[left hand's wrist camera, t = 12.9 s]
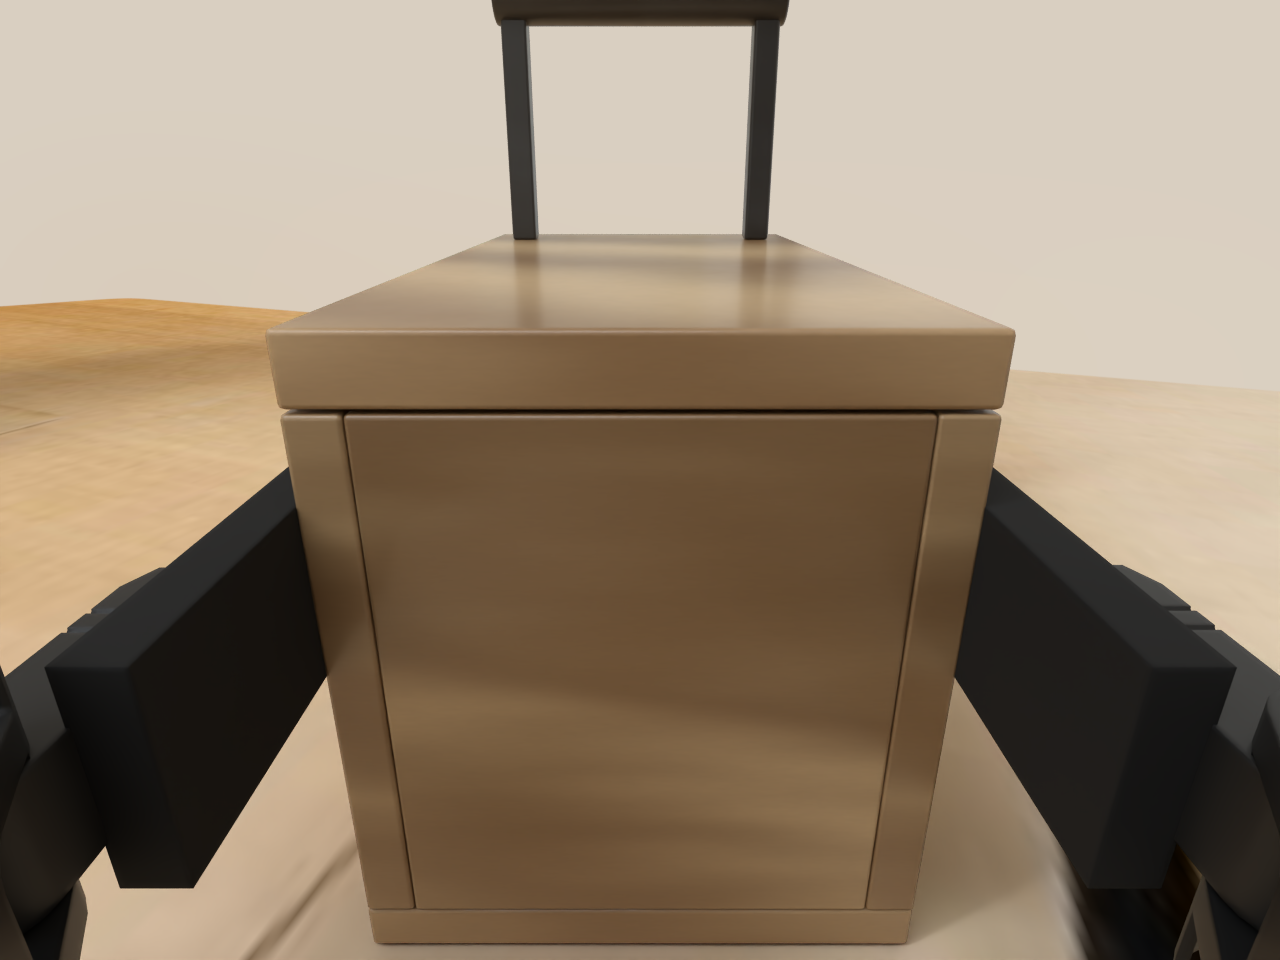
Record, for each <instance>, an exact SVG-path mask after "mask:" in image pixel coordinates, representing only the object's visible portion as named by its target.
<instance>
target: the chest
mask: <svg viewBox="0 0 1280 960" xmlns="http://www.w3.org/2000/svg"><path fill="white" fill-rule="evenodd" d="M1000 424H1001V416H1000V415H999V414H998V413H996V412H994V411H993V410H797V409H291V410H289V411H287V412H286V413H284V414H283V415H282V416H281V426H282V431H283V437H284V442H285V448H286V454H287V459H288V465H289V470H290V476H291V481H292V487H293V492H294V498H295V503H296V509H297V514H298V520H299V526H300V531H301V537H302V542H303V548H304V553H305V559H306V564H307V570H308V575H309V581H310V586H311V592H312V598H313V603H314V609H315V614H316V620H317V625H318V631H319V636H320V642H321V647H322V653H323V658H324V664H325V670H326V675H327V681H328V686H329V692H330V697H331V703H332V708H333V714H334V719H335V725H336V730H337V736H338V742H339V747H340V753H341V758H342V764H343V769H344V775H345V780H346V786H347V791H348V797H349V802H350V808H351V814H352V819H353V825H354V830H355V836H356V841H357V847H358V852H359V858H360V863H361V869H362V874H363V880H364V886H365V891H366V897H367V902H368V907H369V908H370V909H369V915H370V920H371V926H372V931H373V937H374V941H375V942H376V943H905V942H906V941H907V935H908V930H909V924H910V919H911V913H912V910H911V909H912V908H913V904H914V898H915V893H916V887H917V882H918V876H919V871H920V865H921V860H922V854H923V849H924V843H925V838H926V832H927V826H928V821H929V815H930V810H931V804H932V799H933V793H934V788H935V782H936V777H937V771H938V766H939V760H940V755H941V749H942V744H943V738H944V733H945V727H946V722H947V716H948V711H949V705H950V700H951V694H952V689H953V683H954V678H955V671H956V666H957V660H958V655H959V649H960V644H961V638H962V633H963V627H964V621H965V616H966V610H967V605H968V599H969V594H970V588H971V583H972V577H973V572H974V566H975V561H976V555H977V550H978V544H979V539H980V533H981V528H982V522H983V517H984V511H985V507H986V502H987V496H988V490H989V485H990V479H991V474H992V468H993V463H994V457H995V452H996V446H997V441H998V435H999V430H1000Z"/></svg>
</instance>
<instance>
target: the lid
mask: <svg viewBox="0 0 1280 960" xmlns="http://www.w3.org/2000/svg"><path fill="white" fill-rule="evenodd" d="M492 7H493V12H494V17H495V20H496V23H497V25H499V26H501V34H502V52H503V69H504V86H505V104H506V121H507V138H508V155H509V172H510V189H511V206H512V224H513V234H505V235H502V236H500V237H497V238H495V239H492V240H490V241H487V242H485V243H482V244H480V245H477V246H475V247H472V248H470V249H467V250H465V251H462V252H460V253H457V254H455V255H452V256H450V257H447V258H445V259H442V260H440V261H437V262H435V263H432V264H430V265H427V266H425V267H422V268H420V269H417V270H415V271H412V272H410V273H407V274H405V275H402V276H400V277H397V278H395V279H392V280H390V281H387V282H385V283H382V284H380V285H377V286H375V287H372V288H370V289H367V290H365V291H362V292H360V293H357V294H355V295H352V296H350V297H347V298H345V299H342V300H340V301H337V302H335V303H332V304H330V305H327V306H325V307H322V308H320V309H317V310H315V311H312V312H310V313H307V314H305V315H302V316H300V317H297V318H295V319H292V320H290V321H287V322H285V323H282V324H280V325H277V326H275V327H272V328H270V329H268V330H267V331H266V341H267V347H268V352H269V358H270V364H271V369H272V375H273V380H274V386H275V391H276V397H277V402H278V405H279V407H280V408H283V409H797V410H995V409H999V408H1001V407H1002V406H1003V403H1004V398H1005V392H1006V387H1007V381H1008V376H1009V370H1010V364H1011V359H1012V353H1013V348H1014V342H1015V337H1016V335H1015V331H1014V330H1013V329H1011V328H1009V327H1006V326H1004V325H1001V324H999V323H996V322H994V321H991V320H989V319H986V318H984V317H981V316H979V315H976V314H974V313H971V312H969V311H966V310H964V309H961V308H959V307H956V306H954V305H951V304H949V303H946V302H944V301H941V300H939V299H936V298H934V297H931V296H929V295H926V294H924V293H921V292H919V291H916V290H914V289H911V288H909V287H906V286H904V285H901V284H899V283H896V282H894V281H891V280H889V279H886V278H884V277H881V276H879V275H876V274H874V273H871V272H869V271H866V270H864V269H861V268H859V267H856V266H854V265H851V264H849V263H846V262H844V261H841V260H839V259H836V258H834V257H831V256H829V255H826V254H824V253H821V252H819V251H816V250H814V249H811V248H809V247H806V246H804V245H801V244H799V243H796V242H794V241H791V240H789V239H786V238H784V237H781V236H779V235H776V234H768V219H769V203H770V185H771V169H772V151H773V135H774V117H775V100H776V83H777V66H778V49H779V32H780V26H782V25H783V24H784V22H785V20H786V17H787V12H788V7H789V0H492ZM529 26H752V39H751V60H750V81H749V102H748V124H747V145H746V166H745V188H744V209H743V230H742V234H539V232H538V211H537V190H536V168H535V146H534V126H533V104H532V82H531V60H530V39H529Z"/></svg>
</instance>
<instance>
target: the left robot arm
mask: <svg viewBox="0 0 1280 960" xmlns="http://www.w3.org/2000/svg"><path fill="white" fill-rule="evenodd" d="M1190 608H1191V606H1190V605H1188V604H1187V603H1186V602H1184V601H1183V600H1182V599H1181V598H1179V597H1178V596H1177V595H1175V594H1174V593H1173V592H1172V591H1170V590H1169V589H1168V588H1166V587H1165V586H1164V585H1163V584H1161V583H1159V582H1157V581H1155V580H1152V579H1150V578H1148V577H1146V576H1144V575H1142V574H1140V573H1138V572H1136V571H1134V570H1132V569H1129V568H1127V567H1125V566H1123V565H1112V564H1110V563H1109V562H1108V561H1107V560H1106V559H1104V558H1103V557H1102V556H1101V555H1099V554H1098V553H1097V552H1096V551H1095V550H1093V549H1092V548H1091V547H1090V546H1088V545H1087V544H1086V543H1085V542H1084V541H1082V540H1081V539H1080V538H1079V537H1077V536H1076V535H1075V534H1074V533H1073V532H1071V531H1070V530H1069V529H1068V528H1066V527H1065V526H1064V525H1063V524H1062V523H1060V522H1059V521H1058V520H1057V519H1056V518H1054V517H1053V516H1052V515H1051V514H1049V513H1048V512H1047V511H1046V510H1045V509H1043V508H1042V507H1041V506H1040V505H1038V504H1037V503H1036V502H1035V501H1034V500H1032V499H1031V498H1030V497H1029V496H1027V495H1026V494H1025V493H1024V492H1023V491H1021V490H1020V489H1019V488H1018V487H1016V486H1015V485H1014V484H1013V483H1012V482H1010V481H1009V480H1008V479H1007V478H1005V477H1004V476H1003V475H1002V474H1001V473H999V472H998V471H997V470H996V469H995V468H992V474H991V479H990V485H989V490H988V496H987V502H986V507H985V511H984V517H983V522H982V528H981V533H980V539H979V544H978V550H977V555H976V561H975V566H974V572H973V577H972V583H971V588H970V594H969V599H968V605H967V610H966V616H965V621H964V627H963V633H962V638H961V644H960V649H959V655H958V660H957V666H956V671H955V678H956V680H957V681H958V683H959V685H960V686H961V688H962V689H963V691H964V693H965V694H966V696H967V697H968V699H969V701H970V702H971V704H972V705H973V707H974V709H975V710H976V712H977V713H978V715H979V716H980V718H981V720H982V721H983V723H984V724H985V726H986V728H987V729H988V731H989V732H990V734H991V736H992V737H993V739H994V740H995V742H996V743H997V745H998V747H999V748H1000V750H1001V751H1002V753H1003V755H1004V756H1005V758H1006V759H1007V761H1008V763H1009V764H1010V766H1011V767H1012V769H1013V770H1014V772H1015V774H1016V775H1017V777H1018V778H1019V780H1020V782H1021V783H1022V785H1023V786H1024V788H1025V790H1026V791H1027V793H1028V794H1029V796H1030V797H1031V799H1032V801H1033V802H1034V804H1035V805H1036V807H1037V809H1038V810H1039V812H1040V813H1041V815H1042V817H1043V818H1044V820H1045V821H1046V823H1047V825H1048V826H1049V828H1050V829H1051V831H1052V832H1053V834H1054V836H1055V837H1056V839H1057V840H1058V842H1059V844H1060V845H1061V847H1062V848H1063V850H1064V852H1065V853H1066V855H1067V856H1068V858H1069V859H1070V861H1071V863H1072V864H1073V866H1074V867H1075V869H1076V871H1077V872H1078V874H1079V875H1080V877H1081V879H1082V880H1083V882H1084V883H1085V885H1086V886H1087V888H1113V889H1161V887H1162V884H1163V881H1164V878H1165V876H1166V873H1167V870H1168V867H1169V864H1170V861H1171V858H1172V855H1173V852H1174V849H1175V846H1176V844H1178V845H1179V846H1180V848H1181V849H1182V850H1183V851H1184V853H1185V854H1186V855H1187V856H1188V857H1189V859H1190V860H1191V861H1192V862H1193V864H1194V865H1195V866H1196V867H1197V869H1198V870H1199V871H1200V872H1201V874H1202V878H1201V881H1200V883H1199V886H1198V889H1197V891H1196V894H1195V897H1194V900H1193V902H1192V905H1191V908H1190V910H1189V913H1188V916H1187V919H1186V921H1185V924H1184V927H1183V929H1182V932H1181V935H1180V938H1179V940H1178V943H1177V946H1176V948H1175V954H1174V960H1190V958H1191V956H1192V953H1193V952H1195V951H1197V950H1199V952H1200V958H1201V960H1280V675H1278V674H1277V673H1276V672H1274V671H1273V670H1272V669H1271V668H1269V667H1268V666H1267V665H1265V664H1264V663H1263V662H1262V661H1260V660H1259V659H1258V658H1256V657H1255V656H1254V655H1253V654H1251V653H1250V652H1249V651H1247V650H1246V649H1245V648H1244V647H1242V646H1241V645H1240V644H1238V643H1237V642H1236V641H1235V640H1233V639H1232V638H1231V637H1229V636H1228V635H1227V634H1226V633H1224V632H1223V631H1222V630H1215V625H1214V624H1213V623H1211V622H1210V621H1209V620H1208V619H1206V618H1205V617H1204V616H1202V615H1201V614H1200V613H1199V612H1197V611H1191V609H1190ZM91 610H92V612H91V614H85V615H83V616H82V617H81V618H80V619H78V620H77V621H76V622H74V623H73V624H72V625H71V626H69V627H68V628H67V629H68V631H67V633H60V634H59V635H58V636H57V637H55V638H54V639H53V640H51V641H50V642H49V643H48V644H46V645H45V646H44V647H43V648H41V649H40V650H39V651H37V652H36V653H35V654H34V655H32V656H31V657H30V658H29V659H27V660H26V661H25V662H23V663H22V664H21V665H20V666H18V667H17V668H16V669H15V670H13V671H12V672H11V673H9V674H8V675H7V676H6V677H4V674H3V672H2V669H1V666H0V960H80V955H81V949H82V943H83V937H84V932H85V926H86V920H87V914H88V912H87V905H86V897H85V894H84V891H83V889H82V886H81V883H80V881H79V878H80V877H81V876H82V874H83V873H84V872H85V871H86V869H87V868H88V867H89V866H90V864H91V863H92V862H93V861H94V859H95V858H96V857H97V856H98V854H99V853H100V852H101V851H102V849H103V848H104V847H105V846H106V849H107V852H108V855H109V858H110V860H111V863H112V866H113V869H114V872H115V875H116V878H117V881H118V884H119V887H120V888H194V886H195V885H196V883H197V882H198V880H199V878H200V877H201V875H202V874H203V872H204V871H205V869H206V867H207V866H208V864H209V863H210V861H211V859H212V858H213V856H214V855H215V853H216V851H217V850H218V848H219V847H220V845H221V843H222V842H223V840H224V839H225V837H226V836H227V834H228V832H229V831H230V829H231V828H232V826H233V824H234V823H235V821H236V820H237V818H238V816H239V815H240V813H241V812H242V810H243V809H244V807H245V805H246V804H247V802H248V801H249V799H250V797H251V796H252V794H253V793H254V791H255V789H256V788H257V786H258V785H259V783H260V781H261V780H262V778H263V777H264V775H265V774H266V772H267V770H268V769H269V767H270V766H271V764H272V762H273V761H274V759H275V758H276V756H277V754H278V753H279V751H280V750H281V748H282V747H283V745H284V743H285V742H286V740H287V739H288V737H289V735H290V734H291V732H292V731H293V729H294V727H295V726H296V724H297V723H298V721H299V719H300V718H301V716H302V715H303V713H304V712H305V710H306V708H307V707H308V705H309V704H310V702H311V700H312V699H313V697H314V696H315V694H316V692H317V691H318V689H319V688H320V686H321V685H322V683H323V681H324V680H325V678H326V677H327V675H326V670H325V664H324V658H323V653H322V647H321V642H320V636H319V631H318V625H317V620H316V614H315V609H314V603H313V598H312V592H311V586H310V581H309V575H308V570H307V564H306V559H305V553H304V548H303V542H302V537H301V531H300V526H299V520H298V514H297V509H296V503H295V498H294V492H293V487H292V481H291V476H290V470H289V467H288V468H286V469H285V470H284V471H283V472H282V473H280V474H279V475H278V476H277V477H275V478H274V479H273V480H272V481H271V482H269V483H268V484H267V485H266V486H264V487H263V488H262V489H261V490H260V491H258V492H257V493H256V494H255V495H254V496H252V497H251V498H250V499H249V500H247V501H246V502H245V503H244V504H243V505H241V506H240V507H239V508H238V509H236V510H235V511H234V512H233V513H232V514H230V515H229V516H228V517H227V518H225V519H224V520H223V521H222V522H221V523H219V524H218V525H217V526H216V527H215V528H213V529H212V530H211V531H210V532H208V533H207V534H206V535H205V536H204V537H202V538H201V539H200V540H199V541H197V542H196V543H195V544H194V545H193V546H191V547H190V548H189V549H188V550H186V551H185V552H184V553H183V554H182V555H180V556H179V557H178V558H177V559H175V560H174V561H173V562H172V563H171V564H169V565H168V566H167V567H166V568H158V569H156V570H154V571H152V572H150V573H147V574H145V575H143V576H141V577H139V578H137V579H135V580H133V581H131V582H129V583H127V584H125V585H123V586H120V587H119V588H118V589H116V590H115V591H114V592H113V593H111V594H110V595H109V596H108V597H106V598H105V599H104V600H102V601H101V602H100V603H99V604H97V605H96V606H95V607H94V608H92V609H91Z"/></svg>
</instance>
